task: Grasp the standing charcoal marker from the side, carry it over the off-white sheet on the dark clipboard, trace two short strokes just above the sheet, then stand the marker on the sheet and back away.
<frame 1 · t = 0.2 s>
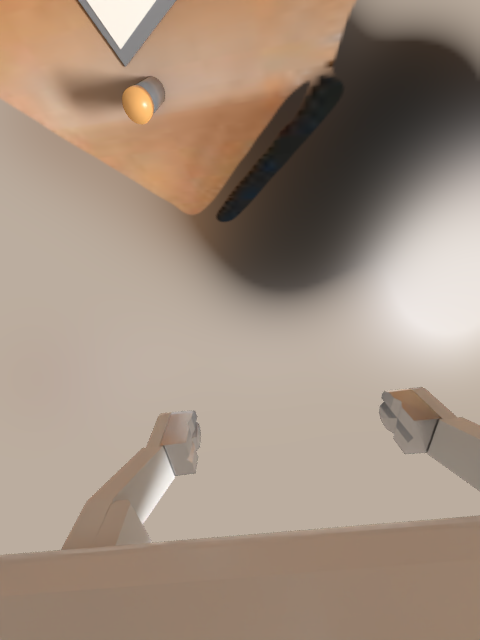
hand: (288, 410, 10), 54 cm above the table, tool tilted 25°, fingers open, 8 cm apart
marker: (154, 91, 39), on the table
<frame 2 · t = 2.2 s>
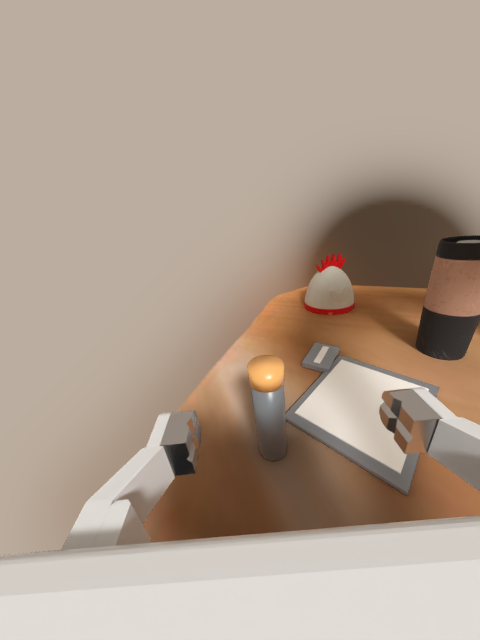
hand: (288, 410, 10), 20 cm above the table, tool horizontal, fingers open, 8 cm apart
travel mug: (438, 350, 43), on the table
kitchen timer: (328, 306, 68), on the table
paper pad: (362, 403, 33), on the table
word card: (321, 358, 44), on the table
marker: (272, 447, 29), on the table
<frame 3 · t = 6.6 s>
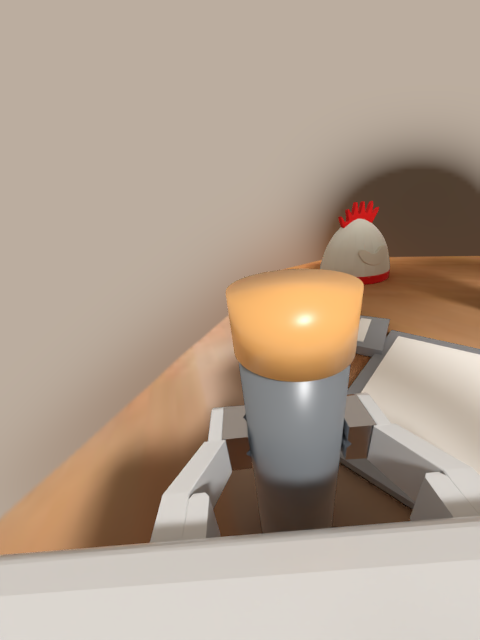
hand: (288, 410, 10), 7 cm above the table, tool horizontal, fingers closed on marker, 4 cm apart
kitchen timer: (351, 276, 51), on the table
paper pad: (471, 413, 16), on the table
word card: (361, 336, 27), on the table
marker: (294, 520, 12), on the table, touching gripper
when the fingers open (8 cm above the table, at t = 14.0 s): marker stays where it is, resting on paper pad.
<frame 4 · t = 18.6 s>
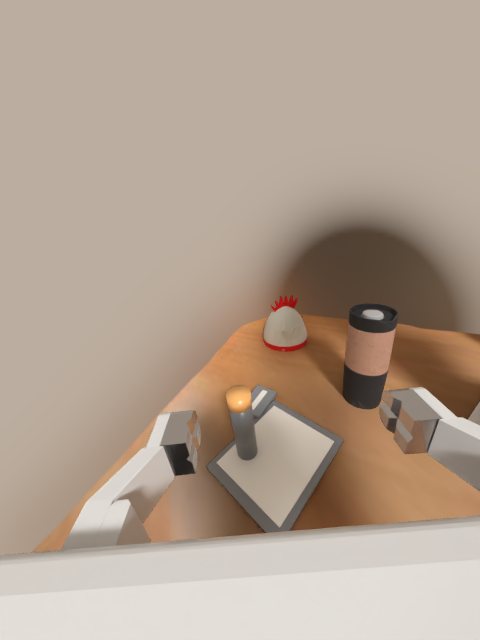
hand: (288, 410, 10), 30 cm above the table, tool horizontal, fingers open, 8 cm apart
travel mug: (360, 397, 48), on the table
kitchen timer: (285, 340, 73), on the table
paper pad: (276, 454, 39), on the table
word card: (258, 403, 50), on the table
marker: (247, 450, 39), point 1 cm above the table, touching paper pad
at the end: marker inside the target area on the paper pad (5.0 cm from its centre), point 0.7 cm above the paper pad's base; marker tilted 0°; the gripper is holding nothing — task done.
